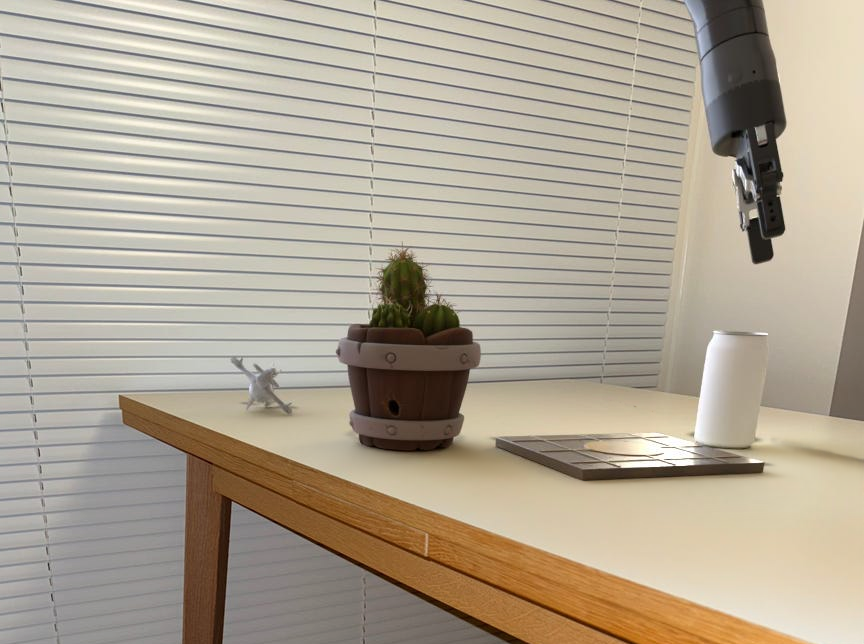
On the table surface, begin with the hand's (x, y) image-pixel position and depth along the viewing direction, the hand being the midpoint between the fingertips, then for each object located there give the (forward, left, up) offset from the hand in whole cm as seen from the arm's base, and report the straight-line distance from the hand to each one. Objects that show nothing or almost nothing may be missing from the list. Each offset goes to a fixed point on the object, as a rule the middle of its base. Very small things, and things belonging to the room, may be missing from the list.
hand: (768, 249), depth 102 cm
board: (+19, +6, -20) cm, 29 cm away
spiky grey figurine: (+48, -32, -21) cm, 61 cm away
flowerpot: (+38, -6, -21) cm, 44 cm away
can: (+2, 0, -21) cm, 21 cm away
